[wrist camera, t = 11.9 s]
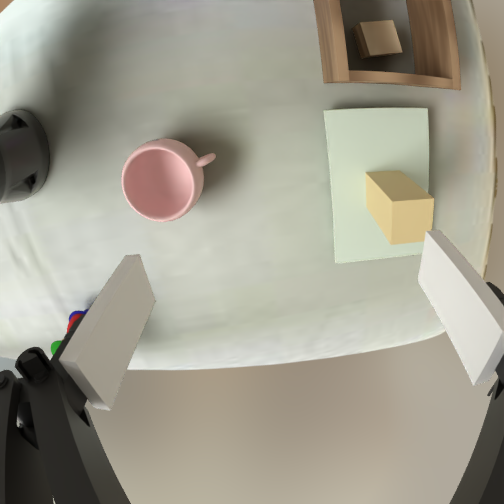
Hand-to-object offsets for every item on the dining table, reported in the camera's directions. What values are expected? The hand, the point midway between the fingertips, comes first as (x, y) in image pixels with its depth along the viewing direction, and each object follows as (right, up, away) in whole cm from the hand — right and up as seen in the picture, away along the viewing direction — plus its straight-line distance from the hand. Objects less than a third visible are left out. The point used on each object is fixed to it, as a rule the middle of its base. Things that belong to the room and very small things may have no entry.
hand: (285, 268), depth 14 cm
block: (+13, +26, +15) cm, 33 cm away
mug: (-11, +12, +25) cm, 30 cm away
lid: (+15, +10, +24) cm, 30 cm away
